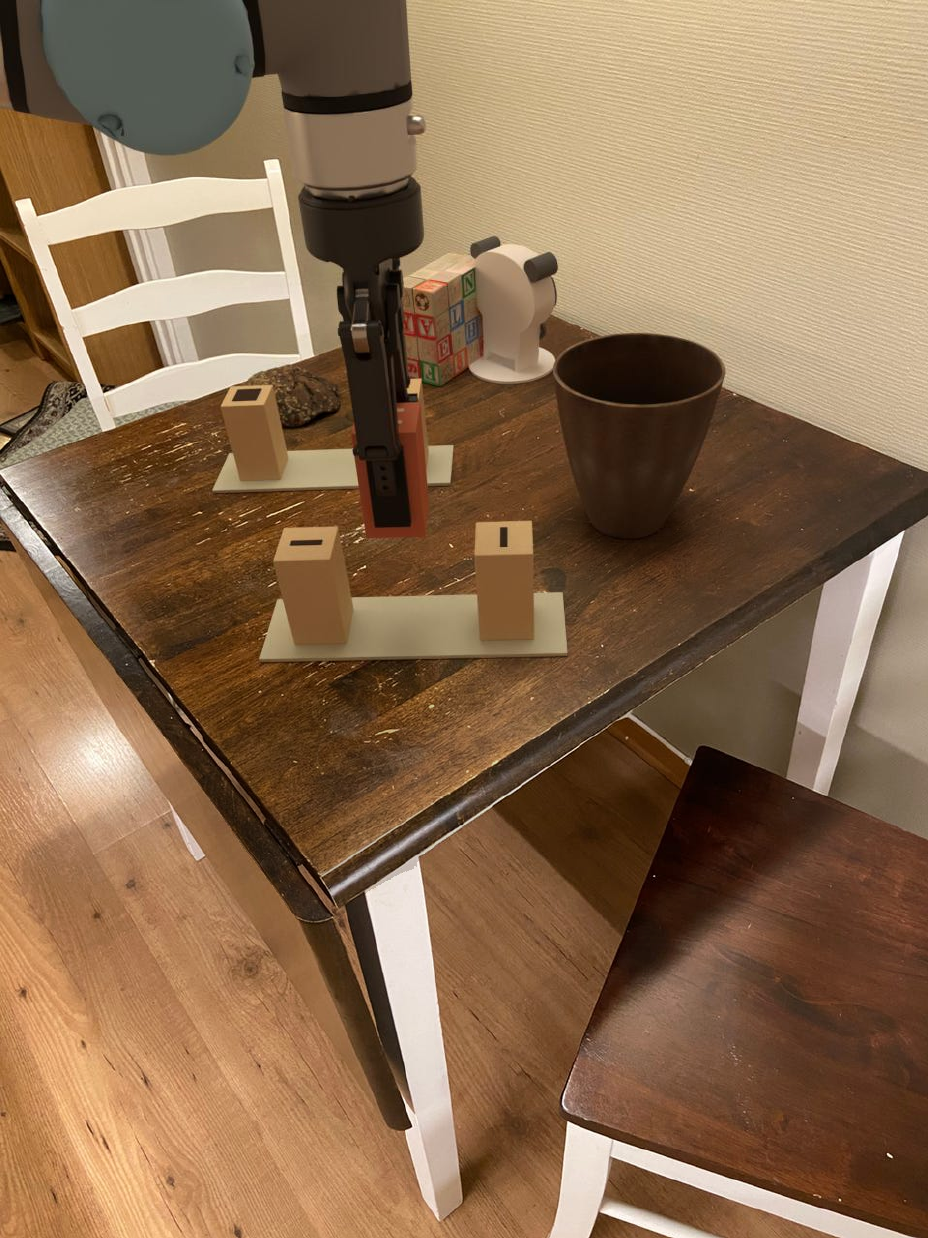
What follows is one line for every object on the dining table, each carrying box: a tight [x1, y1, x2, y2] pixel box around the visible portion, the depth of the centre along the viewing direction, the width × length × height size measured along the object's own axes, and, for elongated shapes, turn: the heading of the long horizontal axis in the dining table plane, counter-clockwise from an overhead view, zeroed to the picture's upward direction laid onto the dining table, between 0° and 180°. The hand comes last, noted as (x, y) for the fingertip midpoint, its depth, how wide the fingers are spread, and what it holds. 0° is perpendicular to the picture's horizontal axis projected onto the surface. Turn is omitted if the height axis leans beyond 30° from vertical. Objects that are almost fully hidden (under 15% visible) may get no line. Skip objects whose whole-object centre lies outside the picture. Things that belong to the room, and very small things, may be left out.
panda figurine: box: [468, 235, 559, 385], centre depth 111 cm, size 12×11×15 cm
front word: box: [258, 520, 569, 663], centre depth 74 cm, size 26×8×10 cm, turn 88°
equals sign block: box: [350, 402, 430, 539], centre depth 67 cm, size 5×5×9 cm
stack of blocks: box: [402, 252, 484, 387], centre depth 116 cm, size 21×6×12 cm, turn 145°
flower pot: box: [552, 332, 727, 540], centre depth 83 cm, size 15×15×16 cm
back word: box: [211, 379, 455, 494], centre depth 95 cm, size 26×8×10 cm, turn 88°
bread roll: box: [239, 363, 341, 428], centre depth 109 cm, size 13×12×5 cm
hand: (396, 504), depth 69 cm, fingers closed on equals sign block, 5 cm apart
